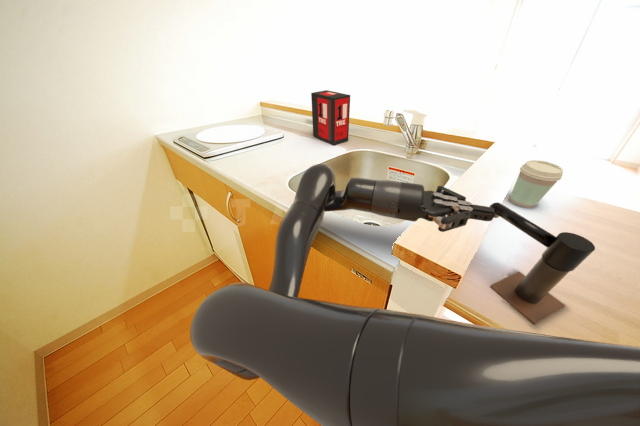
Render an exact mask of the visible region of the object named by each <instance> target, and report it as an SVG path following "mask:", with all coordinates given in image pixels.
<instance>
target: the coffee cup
mask: <svg viewBox="0 0 640 426" xmlns="http://www.w3.org/2000/svg"><path fill="white" fill-rule="evenodd" d="M563 173H564V169H563V168H562V167H561V166H560V165H558V164H556V163H553V162H550V161H545V160H539V159H531V160H527V161H526V162H525V163H523V165H521V167H519V173H518V175H517V179H516V181H515V183H514V186H513V189H512V191H511V193H510V195H509V198H508V199H509V201H510V202H511V203H512V204H514V205H516V206H518V207H521V208H525V209H532V208H534V207H536V206H537V205H538V203H539V202H540V201H541V200H542V199H543V198H544V197H545V196H546V194H547V193H548V192H549V191H550V190H551V189H552V188H553V187H554V186H555V184H556V183H557V182H558V181H560V180H562V177H563Z"/></svg>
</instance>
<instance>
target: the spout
mask: <svg viewBox="0 0 640 426" xmlns="http://www.w3.org/2000/svg"><path fill="white" fill-rule="evenodd" d="M489 207H492V208H493V209H494V211H495V216H494V218H493V219H498V218H501V219H503V220H504V221H506V222H507V223H509V224H510V225H511V226H514V227H515V228H517V229H518V230H519V231H521V232H523V233H524V234H526V235H527V236H528V237H530V238H531V239H533V240H535V241H536V242H538V243H539V244H541V245H543V246H544V247H546V248H545V250H543V252H542V254H541V257H542V258H543V260H544V261H545V262H546V263H548V264H549V265H550V266H552V267H554V268H556V269H559V270H562V271H570V272H573V271H575V270H576V268H578V267H579V266H580V265H581V264H582V263H583V262H584V261H585V260H586V259H587V258H588V257H589V256H590V255H591V254H592V253H593V252H594V251H595V250H596V246H595V245H594V243H593V242H592V241H590V240H589V239H588V238H586V237H584V236H582V235H579V234H576V233H573V232H567V231H562V232H559V233H558V235H556V236H555V235H554V234H552V233H551V232H549V231H547V230H545V229H543V228H542V227H540V226H539V225H537V224H535V223H534V222H532V221H531V220H529V219H527V218H526V217H524V216H522V215H521V214H519V213H517V212H516V211H514V210H513V209H511V208H509V207H508V206H506V205H504V204H502V203H500V202H498V201H497V202H493V203H490V205H489Z"/></svg>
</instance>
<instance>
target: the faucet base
mask: <svg viewBox="0 0 640 426" xmlns="http://www.w3.org/2000/svg"><path fill="white" fill-rule="evenodd" d="M570 272H571V271H562V270H559V269H556V268H554V267H552V266H550V265H549V264H548V263H546V262H545V261H544V260H543V258H542V256H541V257H540V259H538V260H537V262H536V263H535V264H534V265H533V266H532V268H531V269H530V270H529V271H528V273H526V275H525V274H523V273H522V272H520V271H517V272H515V273H513V274H511V275H508V276H506V277H505V278H502V279H501V280H497V281H496V282H495V283H493V284H490V285H489V288H490V289H491V290H492V291H494V292H495V293H496V294H497V295H499V296H500V297H501V298H502V299H503V300H505V302H507V304H508V305H510V306H511V307H513V308H514V309H515V310H516V311H517V312H518V313H520V315H522V317H524V318H526V319H527V320H528V321H529V322H530V323H531V324H532V325H534V326H535V325H536V324H538V323H540V322H542V321H543V320H545V319H547V318H548V317H550V316H552V315H554V314H555V313H557V312H559V311H561V310H562V309H564V308H565V307H566V304H565V303H563V302H561V300H559V299H557V298H556V297H555V296H554V295H552V294H551V293H550V292H551V291H552V290H553V289H554V288H555V287H556V286H557V285H558V284H559V283H560V282H561V281H562V280H563V279H564V278H565V277H566V276H567V275H568V274H569V273H570Z"/></svg>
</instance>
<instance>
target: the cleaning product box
mask: <svg viewBox="0 0 640 426" xmlns="http://www.w3.org/2000/svg"><path fill="white" fill-rule="evenodd" d="M310 96H311V117H312V137H313V138H316V139H318V140H321V141H322V142H325V143H327V144H329V145H331V146H337V145H340V144H341V145H342V144H344V143H347V142H348V141H349V130H350V111H351V110H350V109H351V94H346V93H341V92H338V91H332V90H327V89H326V90H320V91H314V92H311V94H310Z"/></svg>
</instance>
